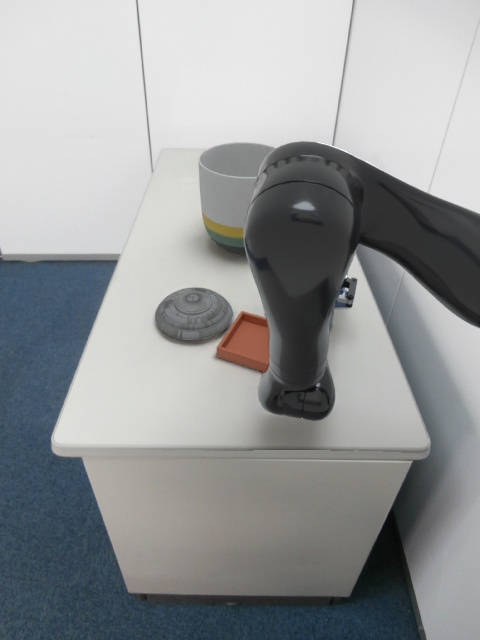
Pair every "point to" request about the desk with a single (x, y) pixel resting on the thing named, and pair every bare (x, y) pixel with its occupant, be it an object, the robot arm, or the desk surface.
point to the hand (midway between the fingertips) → (319, 264)
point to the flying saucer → (193, 314)
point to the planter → (229, 189)
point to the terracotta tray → (246, 342)
